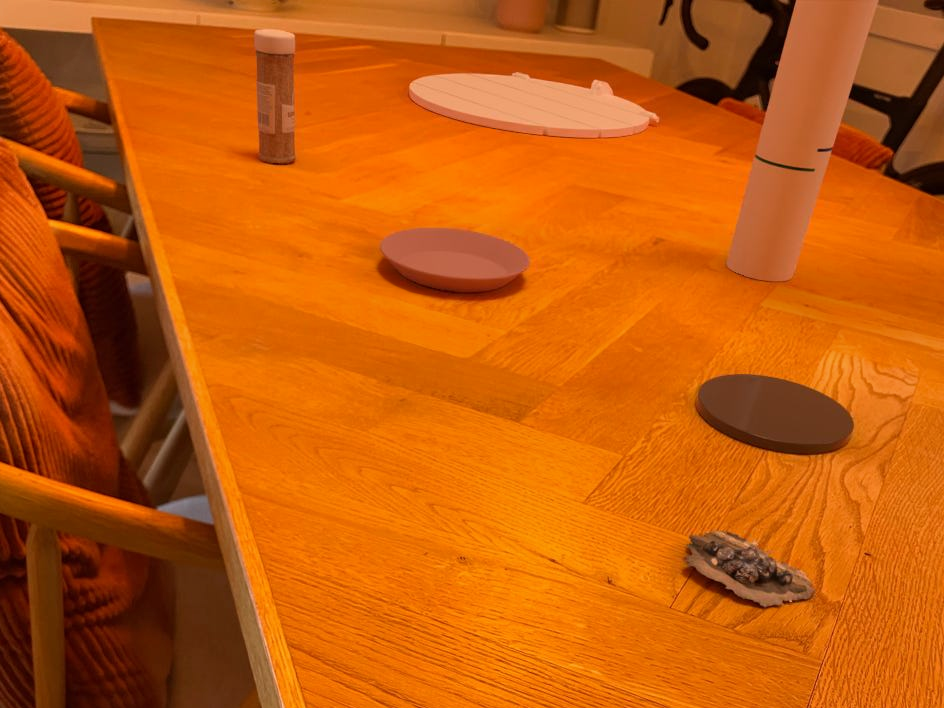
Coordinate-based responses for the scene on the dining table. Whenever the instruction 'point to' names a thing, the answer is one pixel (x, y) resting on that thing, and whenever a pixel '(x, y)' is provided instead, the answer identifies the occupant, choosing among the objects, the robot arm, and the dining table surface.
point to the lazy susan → (531, 105)
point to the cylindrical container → (798, 134)
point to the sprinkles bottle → (275, 95)
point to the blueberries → (747, 569)
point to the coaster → (774, 413)
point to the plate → (454, 258)
